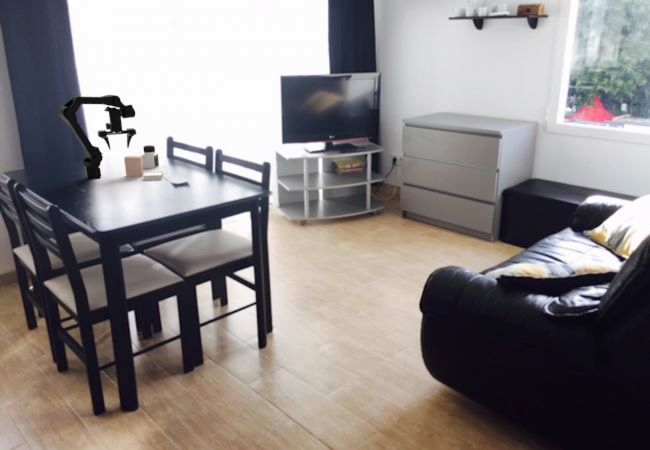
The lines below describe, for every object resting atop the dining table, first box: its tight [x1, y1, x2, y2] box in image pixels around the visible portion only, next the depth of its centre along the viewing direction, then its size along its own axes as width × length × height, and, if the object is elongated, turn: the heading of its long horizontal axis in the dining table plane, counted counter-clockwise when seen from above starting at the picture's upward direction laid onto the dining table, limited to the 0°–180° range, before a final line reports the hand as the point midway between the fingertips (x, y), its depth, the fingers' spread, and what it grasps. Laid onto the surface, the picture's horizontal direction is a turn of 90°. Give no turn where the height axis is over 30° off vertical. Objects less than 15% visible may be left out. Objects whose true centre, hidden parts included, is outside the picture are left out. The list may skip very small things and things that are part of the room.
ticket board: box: [142, 171, 165, 181], centre depth 291 cm, size 9×8×3 cm
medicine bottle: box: [141, 144, 160, 169], centre depth 316 cm, size 7×7×12 cm
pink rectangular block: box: [124, 155, 144, 178], centre depth 295 cm, size 8×4×10 cm, turn 98°
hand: (119, 148), depth 300 cm, fingers open, 9 cm apart
